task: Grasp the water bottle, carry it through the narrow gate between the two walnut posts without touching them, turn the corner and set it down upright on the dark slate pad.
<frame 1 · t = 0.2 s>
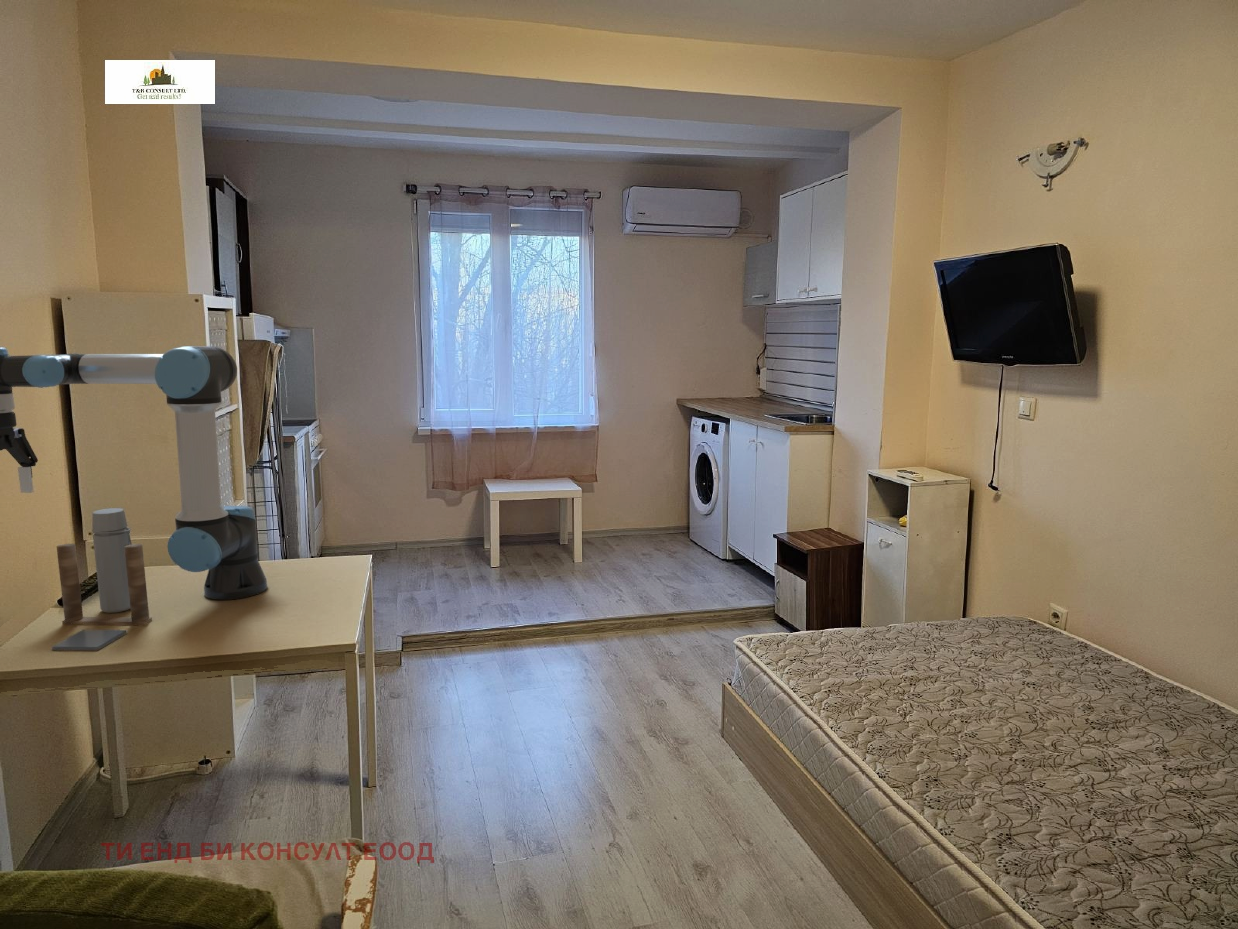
hand: (6, 497, 197), 28 cm above the table, fingers open, 13 cm apart
pad: (90, 641, 179), on the table
gate: (107, 622, 191), on the table
water bottle: (121, 608, 200), on the table
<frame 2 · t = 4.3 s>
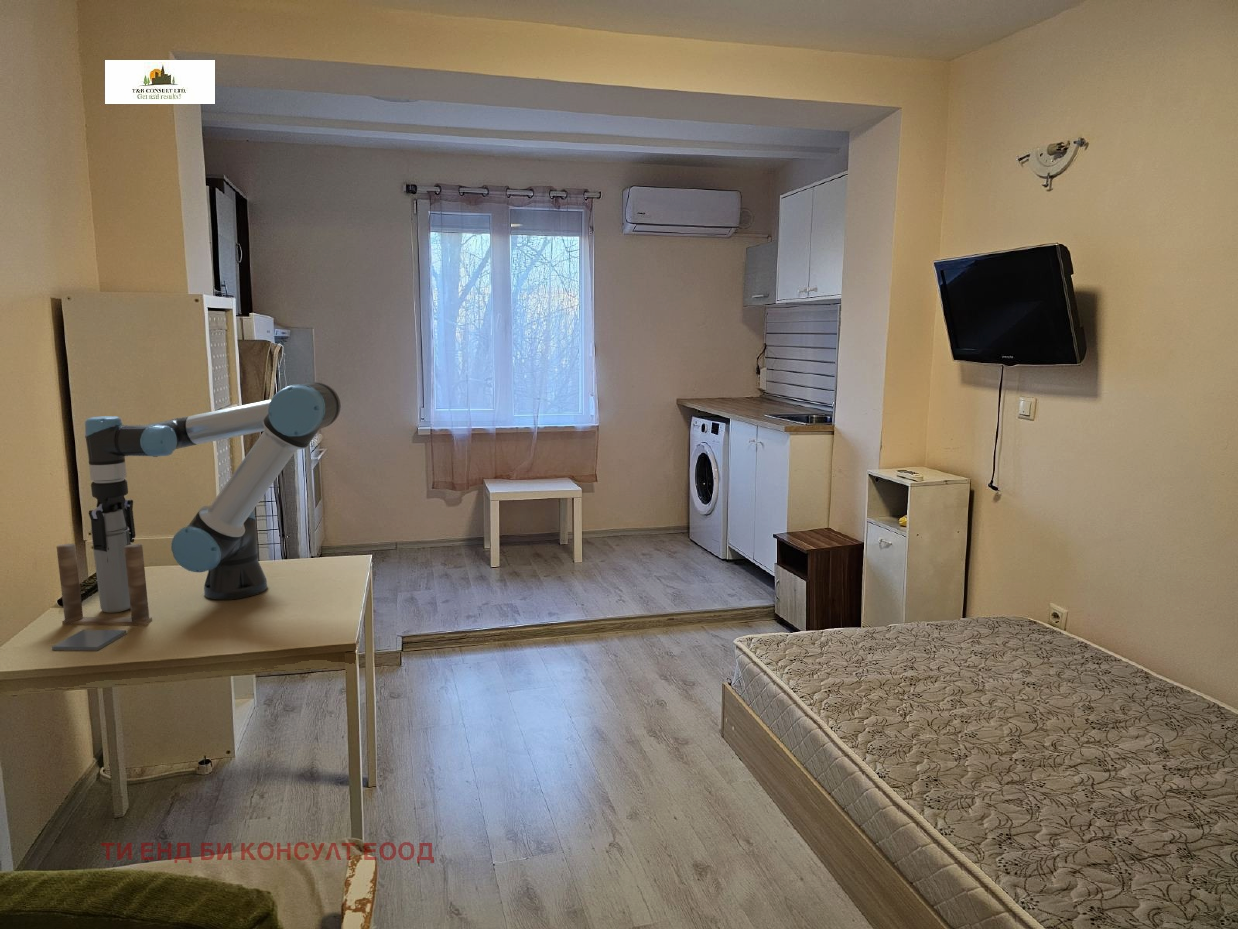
hand: (118, 572, 199), 9 cm above the table, fingers open, 5 cm apart
water bottle: (121, 608, 201), on the table, touching gripper, hand
everything else where it was.
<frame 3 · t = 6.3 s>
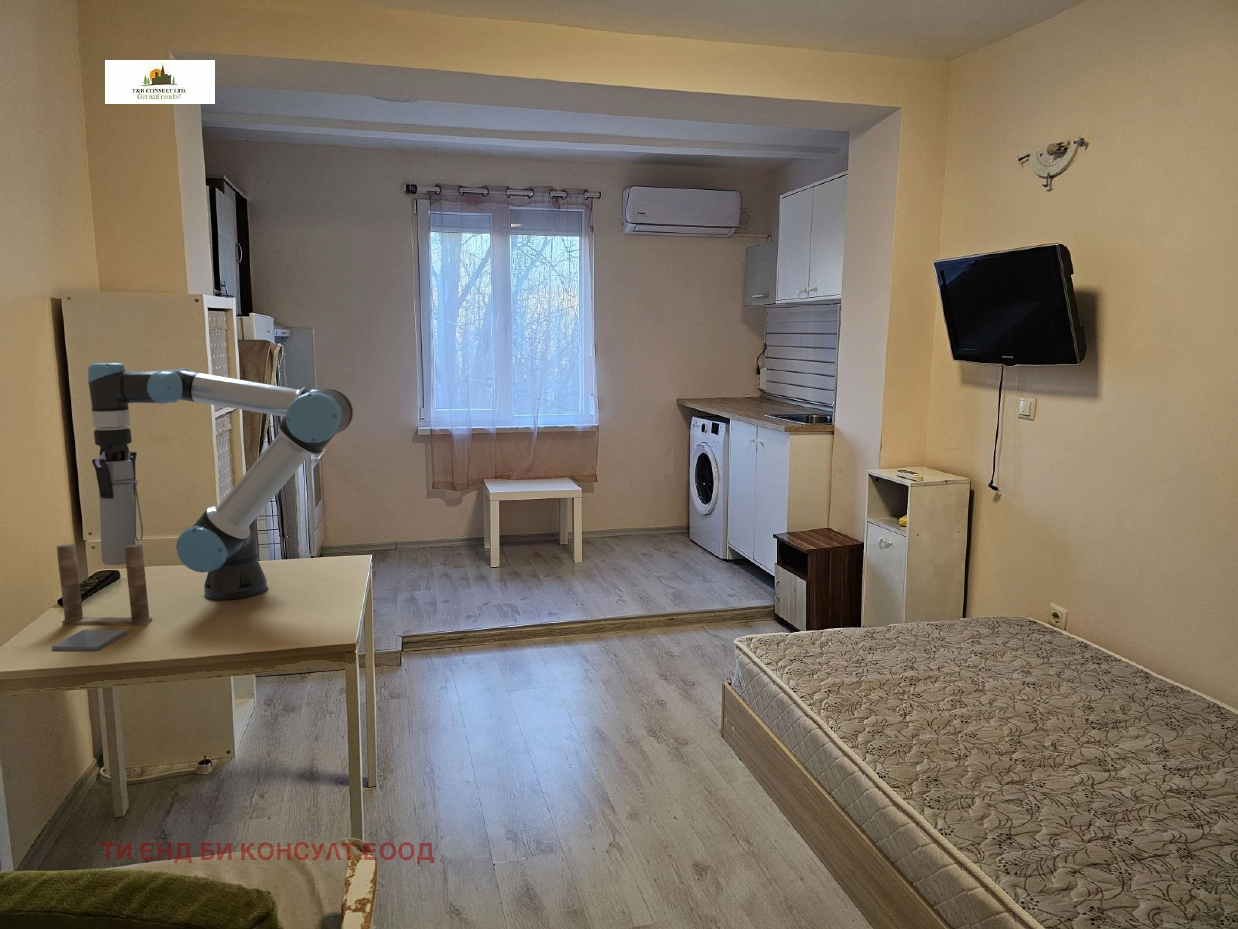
hand: (121, 523, 196), 22 cm above the table, fingers open, 2 cm apart
water bottle: (123, 563, 196), point 12 cm above the table, touching hand
everything else where it was.
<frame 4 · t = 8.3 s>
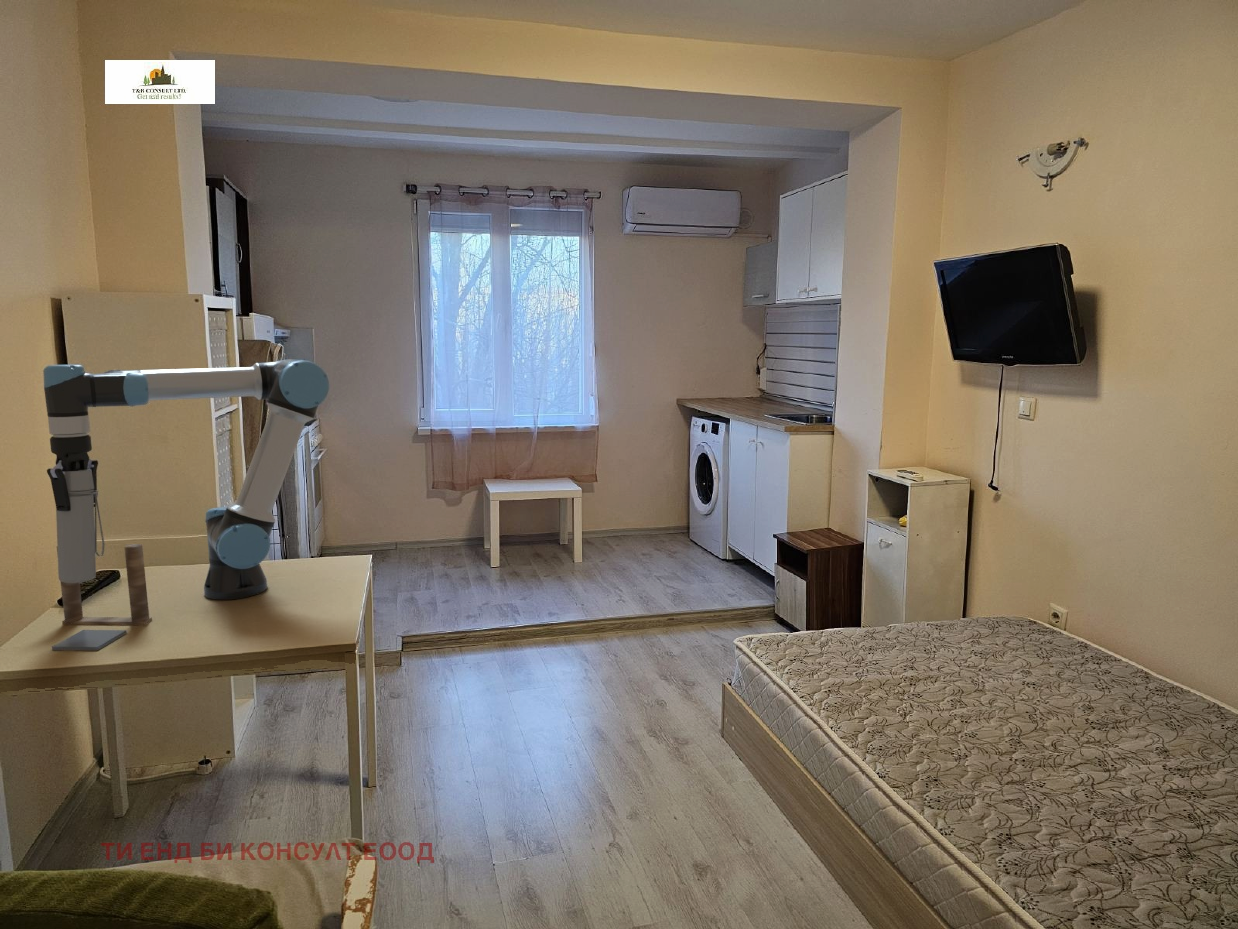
hand: (80, 537, 181), 22 cm above the table, fingers open, 2 cm apart
water bottle: (82, 580, 182), point 13 cm above the table, touching hand
everything else where it was.
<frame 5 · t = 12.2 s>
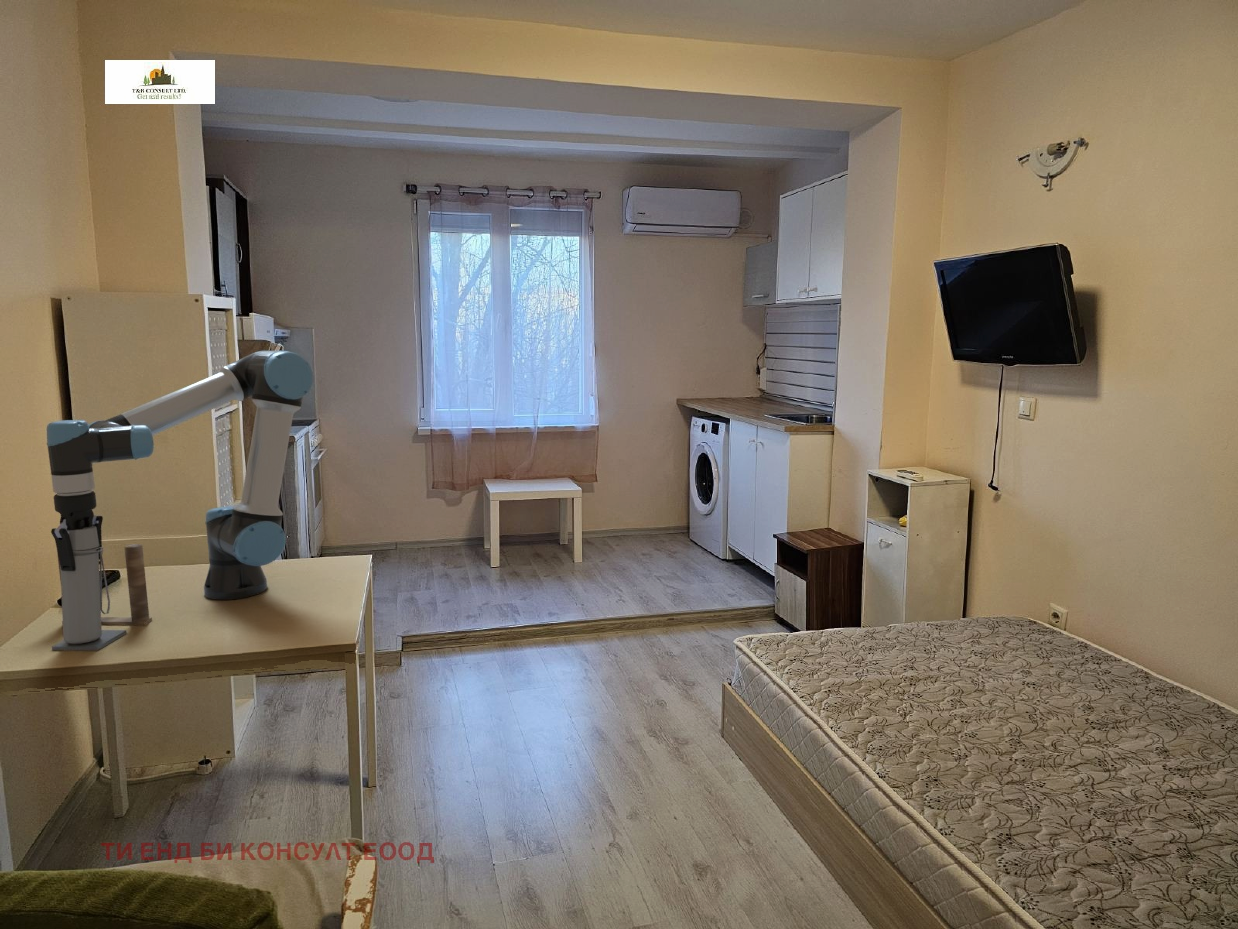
hand: (85, 596, 177), 10 cm above the table, fingers open, 2 cm apart
water bottle: (87, 639, 178), point 1 cm above the table, touching hand
everything else where it was.
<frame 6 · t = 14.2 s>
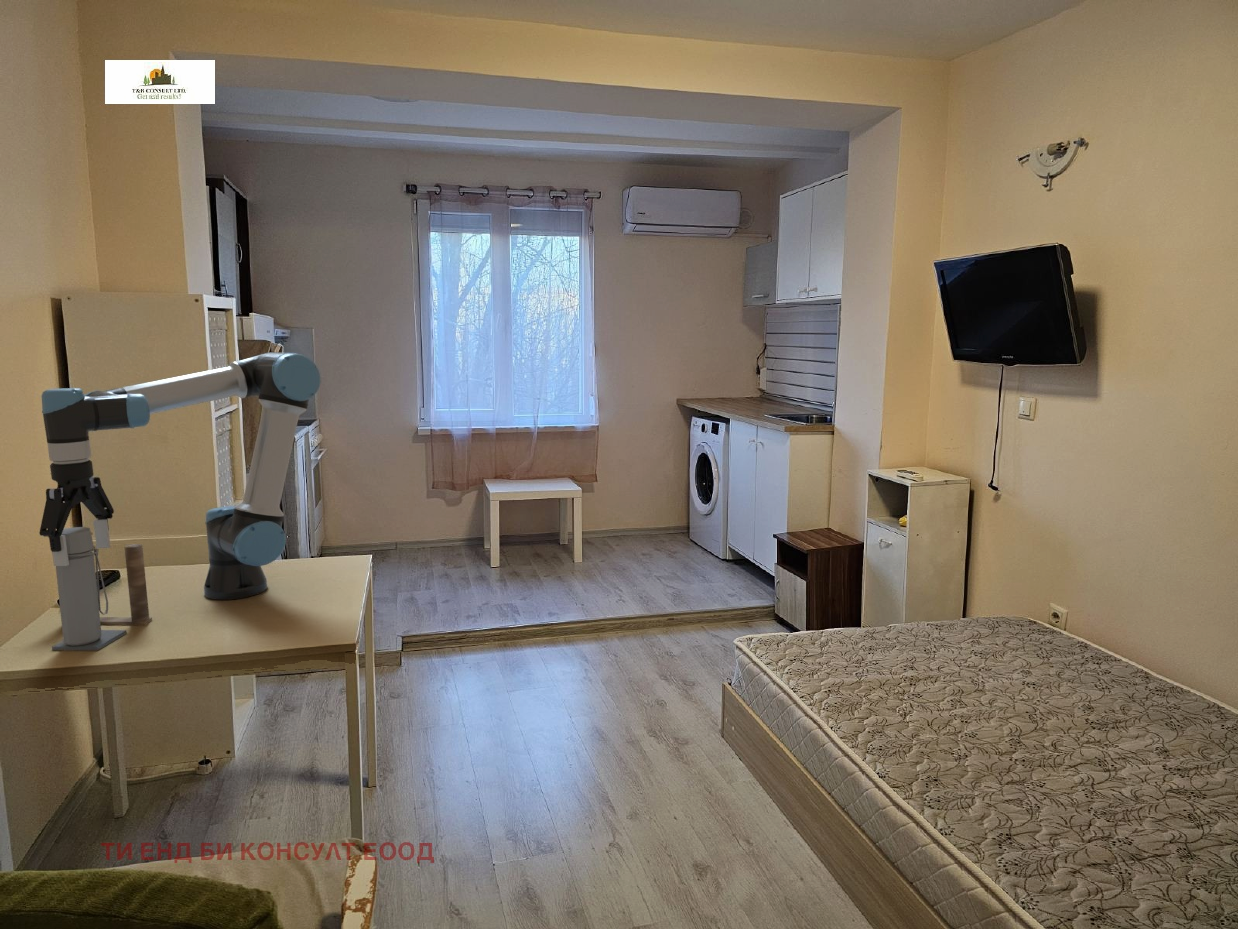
hand: (83, 556, 176), 20 cm above the table, fingers open, 13 cm apart
water bottle: (87, 640, 178), point 1 cm above the table, touching pad
everything else where it was.
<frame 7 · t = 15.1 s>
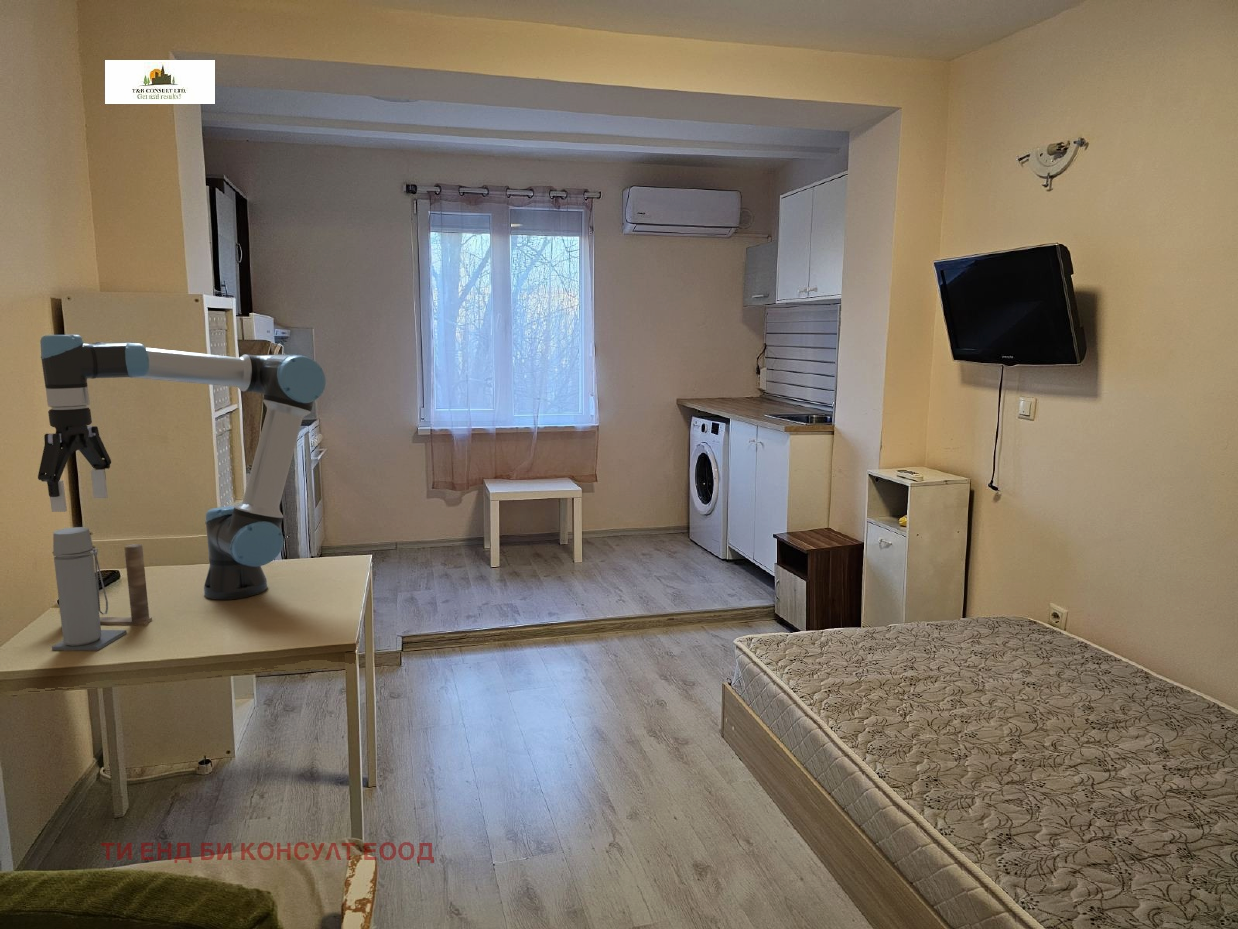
hand: (80, 504, 175), 31 cm above the table, fingers open, 13 cm apart
nothing on the table moved.
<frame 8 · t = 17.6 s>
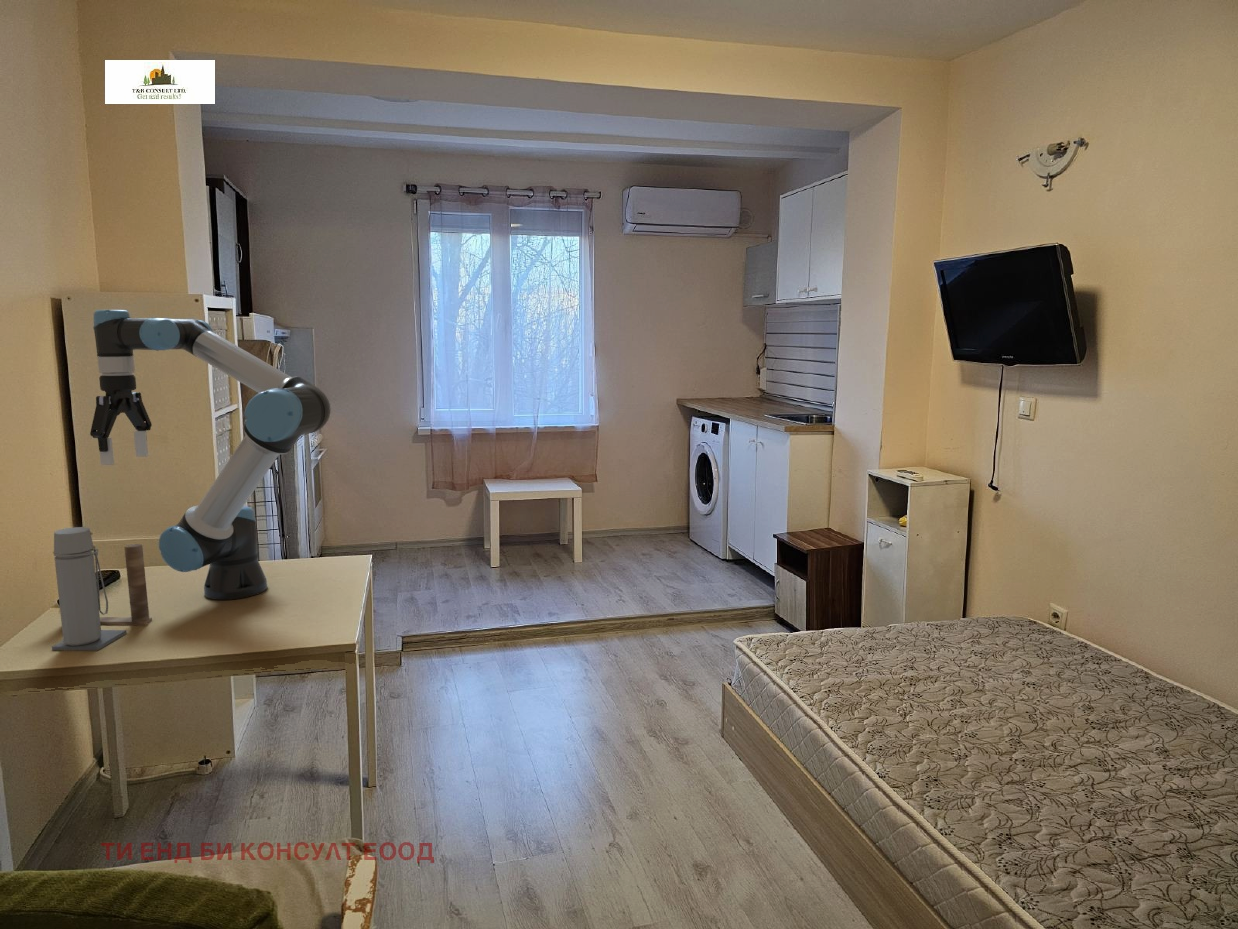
hand: (125, 460, 198), 37 cm above the table, fingers open, 13 cm apart
nothing on the table moved.
at the end: water bottle inside the target area on the pad (1.0 cm from its centre), point 0.6 cm above the pad's base; water bottle tilted 0°; water bottle touching pad; gate moved 0.1 cm from its start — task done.
